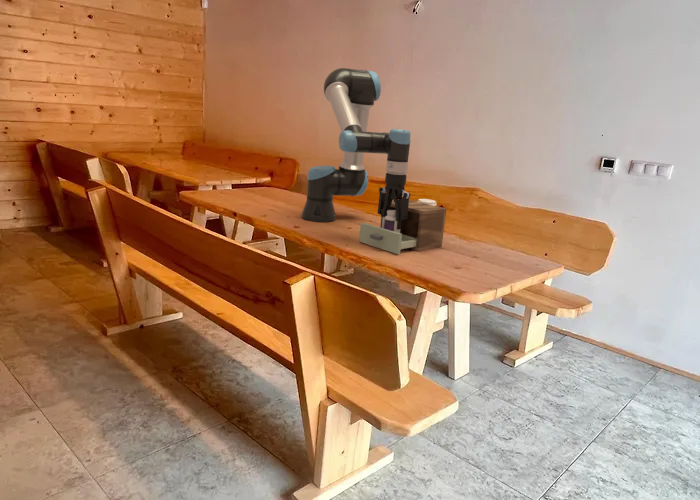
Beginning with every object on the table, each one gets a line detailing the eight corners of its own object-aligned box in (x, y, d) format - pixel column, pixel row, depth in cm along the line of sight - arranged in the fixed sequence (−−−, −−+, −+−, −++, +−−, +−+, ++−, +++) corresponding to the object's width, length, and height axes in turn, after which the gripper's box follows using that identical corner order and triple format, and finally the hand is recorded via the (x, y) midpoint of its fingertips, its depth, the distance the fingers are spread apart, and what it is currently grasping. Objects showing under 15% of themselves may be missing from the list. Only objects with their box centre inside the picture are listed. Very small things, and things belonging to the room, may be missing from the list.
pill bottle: (398, 238, 191) (400, 212, 189) (383, 237, 191) (386, 211, 189) (396, 235, 197) (399, 209, 194) (382, 234, 196) (384, 208, 194)
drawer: (354, 242, 196) (356, 223, 194) (384, 237, 207) (385, 219, 205) (392, 255, 182) (394, 235, 180) (422, 249, 193) (424, 230, 191)
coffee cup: (417, 238, 211) (421, 202, 207) (410, 233, 219) (413, 198, 215) (436, 238, 213) (441, 202, 209) (428, 233, 221) (432, 198, 217)
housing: (379, 239, 205) (382, 201, 201) (402, 235, 215) (406, 199, 211) (418, 251, 191) (422, 211, 187) (441, 246, 201) (446, 208, 197)
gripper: (370, 170, 192) (365, 231, 198) (408, 177, 179) (402, 242, 185) (384, 169, 197) (379, 229, 203) (422, 176, 184) (415, 240, 190)
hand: (390, 235), depth 194 cm, fingers closed on pill bottle, 5 cm apart
